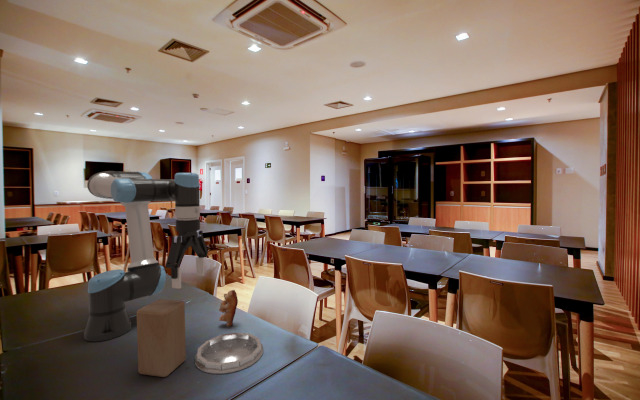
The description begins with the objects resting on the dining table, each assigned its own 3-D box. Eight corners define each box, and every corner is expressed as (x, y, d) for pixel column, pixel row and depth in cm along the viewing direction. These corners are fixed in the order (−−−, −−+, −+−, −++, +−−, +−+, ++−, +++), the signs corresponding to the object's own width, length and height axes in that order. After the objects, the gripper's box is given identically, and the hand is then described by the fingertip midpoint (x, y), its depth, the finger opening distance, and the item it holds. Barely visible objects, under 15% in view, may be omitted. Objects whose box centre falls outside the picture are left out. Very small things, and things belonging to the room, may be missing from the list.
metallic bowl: (179, 369, 94) (179, 361, 94) (218, 335, 115) (218, 329, 115) (245, 378, 89) (245, 370, 89) (272, 341, 111) (272, 334, 111)
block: (165, 379, 89) (164, 312, 88) (136, 375, 91) (134, 309, 90) (187, 360, 99) (185, 299, 98) (160, 356, 101) (158, 297, 100)
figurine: (221, 323, 126) (220, 287, 125) (239, 322, 126) (239, 287, 126) (217, 330, 120) (216, 292, 119) (236, 329, 120) (236, 292, 120)
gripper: (174, 223, 89) (175, 294, 89) (216, 215, 113) (217, 271, 114) (151, 223, 90) (153, 293, 91) (198, 215, 114) (199, 270, 115)
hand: (189, 281), depth 102 cm, fingers open, 13 cm apart
